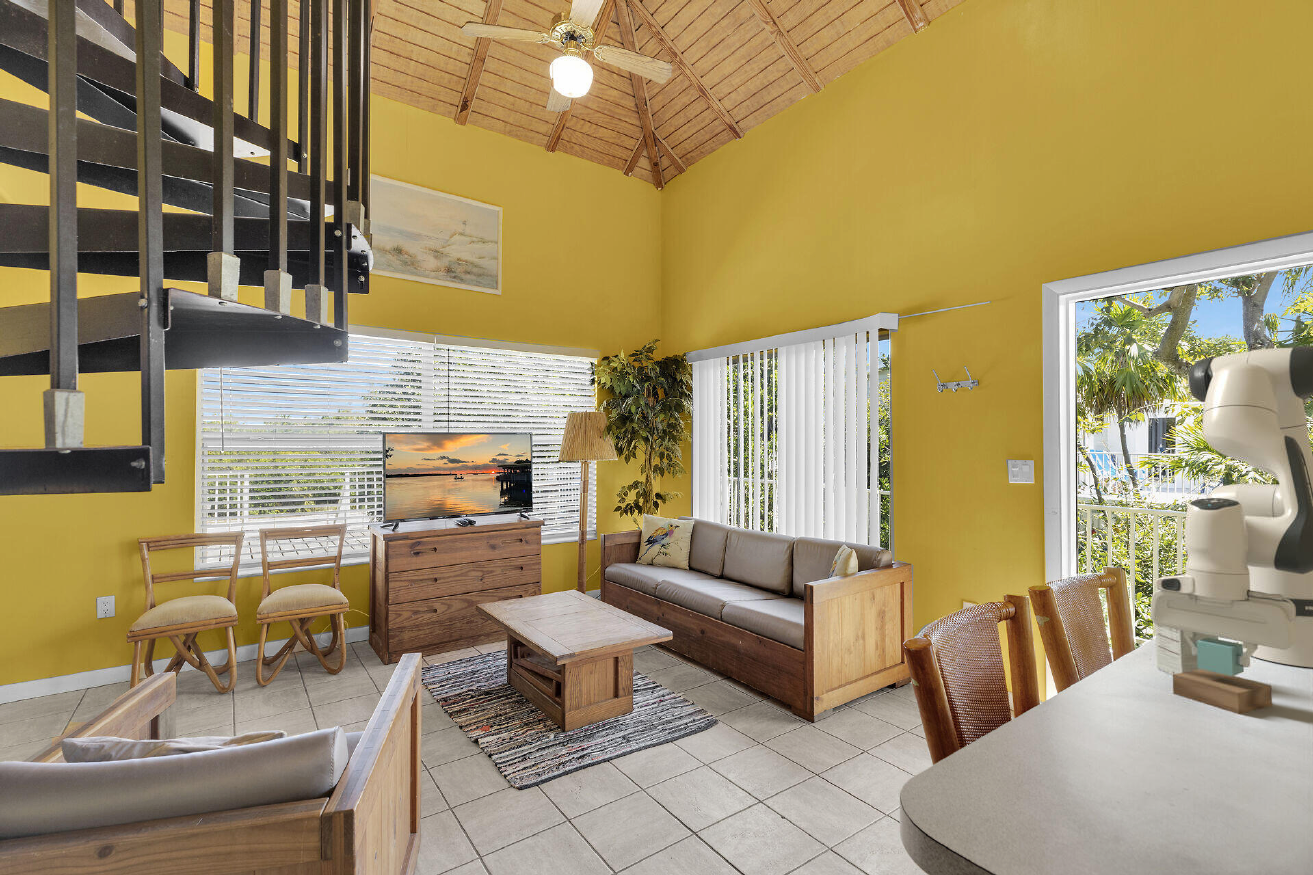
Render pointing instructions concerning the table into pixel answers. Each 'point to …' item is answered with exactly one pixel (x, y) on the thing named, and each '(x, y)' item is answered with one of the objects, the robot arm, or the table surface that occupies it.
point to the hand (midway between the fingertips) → (1220, 660)
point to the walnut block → (1222, 691)
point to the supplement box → (1175, 650)
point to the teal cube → (1219, 656)
